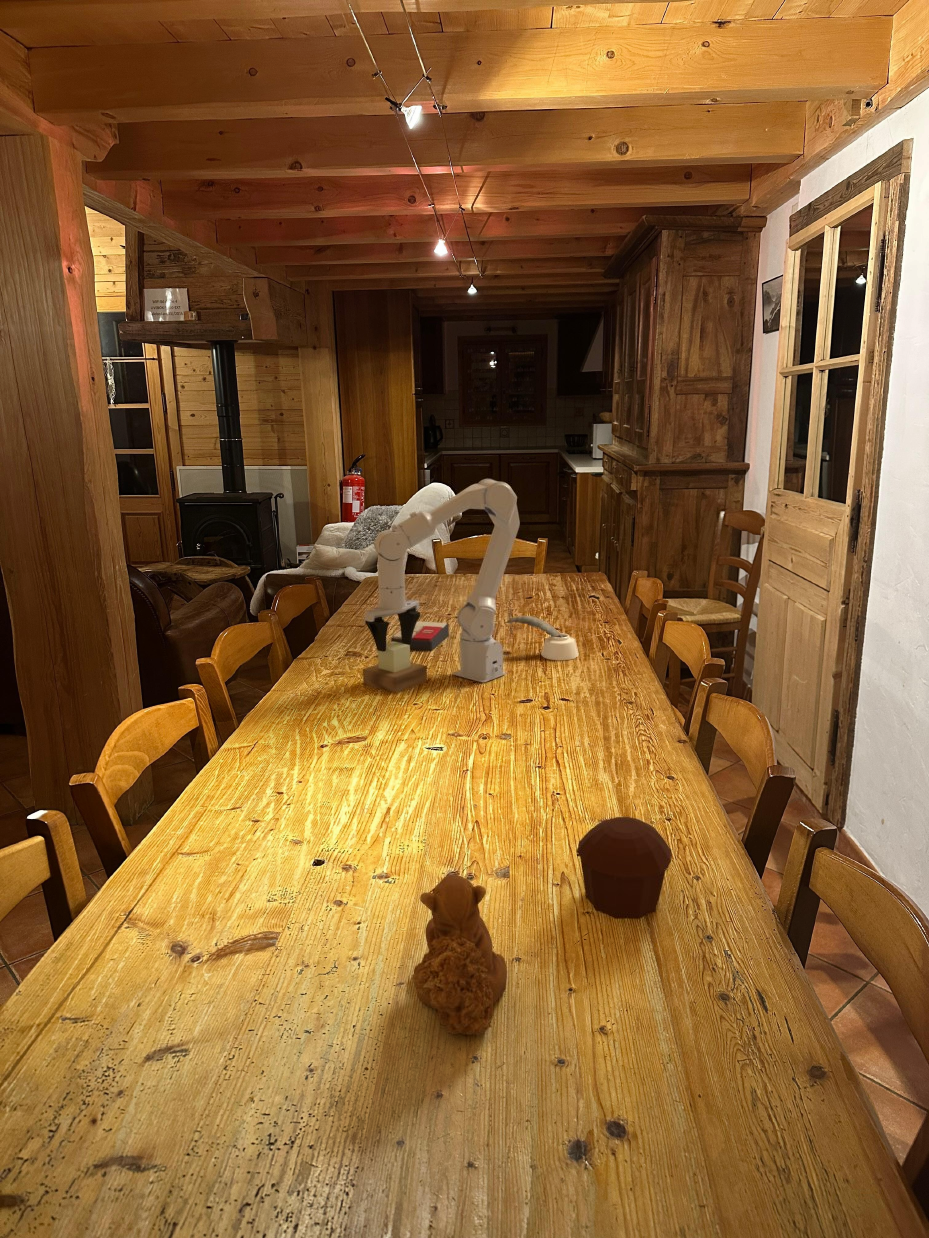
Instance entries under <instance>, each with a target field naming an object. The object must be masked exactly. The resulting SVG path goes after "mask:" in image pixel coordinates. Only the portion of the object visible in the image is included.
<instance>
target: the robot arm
mask: <svg viewBox="0 0 929 1238" xmlns="http://www.w3.org/2000/svg"><path fill="white" fill-rule="evenodd" d="M517 499H518V496H517V495H516V493H515V492H514V490H513V489H512V487H511V486H510V485H509V484H508V483H506V482H504V481H497V480H495V479H492V478H485V479H484V478H483V479H482V480H480V481H479V482H478V483H474V484H471V485H470V486H468V487H466V488H465V489H463V490H461V491H460V492H459V493H457V494H455V495H454V496H453V497H451V498H450V499H448V500H447V501H445V502H443V503H442V504H440V505H439V506H438V507H435V508H434V509H433V510H431V511H429V512H426V511H419V512H416V511H413V512H411V513H409V516H410V517H408V518H406V519H405V520H403V521H402V522H401V521H400V522H399V523H398V524H395V523H394V524H392V525H391V526H390V528H391V529H389V530H388V529H386V530H383V531H381V532H379V534H377V537H376V538H375V541H374V543H373V547H374V549H375V551H376V552H377V553H378V554H377V563H378V565H377V580H378V581H377V582H378V585H377V586H378V601H379V602H378V604H377V606H375V607H374V608H371V609H370V610H366V611H364V623H365V625H366V626H367V629H369V631H370V633H371V635H372V637H373V640H374V643H375V647H376V649H377V650H376V651H377V652H378V651H382V652H384V651H386V644H387V633H388V628H389V625H390V622H389V621H385V620H384V619H383V618H387V617H392V616H394V615H397V617H398V620H399V625H400V630H401V638H402V642H403V643H406V644H411V640H412V635H413V631H414V628H415V625H416V623H417V621H419V619H420V617H421V612H420V611H418V610H420V600H416V599H410V600H406V580H405V578H406V577H405V573H406V572H405V564H404V556H405V555H406V552H407V550H409V549H411V548H413V547H415V546H417V545H418V544H420V543H422V542H423V541H425V540H427V539H428V538H430V537H431V536H433V535H434V534H435V533H436V530H437V529H436V528H437V527H438V526H440V525H441V524H443V523H445V522H446V521H448V520H451V519H452V518H454V517H456V516H458V515H459V514H461V513H464V512H465V511H467V510H470V509H473V510H484V511H485V512H487V514H488V516H489V518H490V520H491V521H492V523H493V524H494V526H493V530H492V532H491V536H490V539H489V542H488V545H487V548H486V551H485V554H484V557H483V560H482V563H481V566H480V569H479V573H478V575H477V578H476V581H475V585H474V588H473V591H472V592H471V593H470V594H469V595H468V596H467V598H466V601H465V604H464V605H463V606H462V607H461V608H460V609H459V610H458V612H457V618H456V619H457V624H458V626H459V627H460V628H461V632H460V634H459V637H460V638H459V645H460V647H459V648H460V649H459V653H460V655H459V656H460V657H459V658H460V669H459V670H456V671H454V672H452V675H453V676H457V677H460V678H463V679H468V680H472V681H476V682H479V683H486V682H489V681H491V680H496V679H497V678H499V677H503V676H504V675H506V672H505V671H504V649H503V646H502V643H501V642H499V641H498V640H495V639H494V638H493V633H494V631H495V627H496V624H495V623H496V622H495V615H496V613H497V606H496V597H497V595H498V593H499V592H498V591H499V588H500V585H501V583H502V580H503V576H504V574H505V571H506V568H507V565H508V562H509V558H510V555H511V552H512V549H513V546H514V543H515V540H516V537H517V535H518V531H519V528H520V524H521V523H520V516H519V511H518V505H517Z"/></svg>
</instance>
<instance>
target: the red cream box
mask: <svg viewBox="0 0 929 1238" xmlns="http://www.w3.org/2000/svg"><path fill="white" fill-rule="evenodd" d="M449 629H450V628H449V623H447V622H446V623H445V622H432V621H419V620H418V621H417V623H416V625H415V628H414V631H413V635H412V640H411V644H407V645H410V651H412V650H413V651H423V652H424V651H426V652H432V651H434V650H435V649H436V648H438V647H439V646H440V644H442V642H443V641H445V640H446V639H448V637H450V631H449ZM390 641H391V642H398V643H402V644H406V643H403V642H402V638H401V629H400V630H398V632H396V633H395V634H394V635H393V636H392V638H391V639H390Z"/></svg>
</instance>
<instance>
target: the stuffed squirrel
mask: <svg viewBox="0 0 929 1238" xmlns="http://www.w3.org/2000/svg"><path fill="white" fill-rule="evenodd" d="M486 894H487V888H485V887H484V886H482V885H474V884H473V883H472V882H471V881H470V880H469V879H468V878H465V877H464V876H462V875H458V874H455V873H454V874H453V873H450V874H448V875H446V876H443V878H442V879H441V880H440V881H439V883H437V884H436V885H435V887H433V888H432V889H431V890H430V891H429V892H426V891H425V892H423V893H421V894H420V896H419V900H420V901H419V902H421V903H422V904H423V905H424V906H425V907H426V908H427V909H428V910H429V911H431V916H432V918H430V919H429V920H428V922H427V923H426V927H425V940H426V944H427V949H428V952H426V953H424V954H423V957H422V960H421V962H419V963H418V964H417V965H415V967H414V968H413V974H412V975H411V978H410V979H411V980H412V982H413V983H414V987H415V990H414V991H413V994H417V997H418V999H419V1001H420V1002H422V1003H423V1004H424V1005H426V1006H428V1007H429V1008H431V1009H433V1010H436V1011H437V1012H438V1016H439V1023H440V1025H441V1026H444V1027H445V1029H446V1032H448V1033H450V1034H453V1035H458V1034H461V1035H463V1036H465V1035H467V1036H472V1035H474V1036H475V1035H482V1034H483V1033H486V1032H487V1030H488V1029H489V1028H492V1020H493V1017H494V1004H495V1003H496V1002H497V1000H498V999H499V998H500V997H502V995H503V994H504V992H505V991H506V990H507V981H508V980H507V978H508V968H507V962H506V960H505V957H504V956H503V955H502V954H499V953H496V952H495V951H494V950H493V949H494V947H493V940H492V937H491V934H490V932H489V929H488V926H486V923H485V922H484V921H485V920H483V918H482V916H481V914H480V913H481V912H480V908H479V904H480V903H481V902H482V901H483V899H484V897H485V896H486Z"/></svg>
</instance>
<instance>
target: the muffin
mask: <svg viewBox="0 0 929 1238" xmlns="http://www.w3.org/2000/svg"><path fill="white" fill-rule="evenodd" d="M576 853H577V855H578V856H579V858H580V863H581V872H582V878H583V884H584V891H585V898H586V899H587V901H588V902H589V903H590V904H591V906H592V907H593V909H594V910H595V911H596V912H599V913H602V914H604V915H606V916H608V917H611V918H613V919H615V920H616V919H620V920H621V919H629V920H640V919H641V918H643V917H645V916H647V915H650V914H653V913H655V912H656V911H657V907H658V903H659V900H660V897H661V892H662V888H663V884H664V881H665V880H664V878H665V875H666V870H667V868H668V867H669V866H670V864H671V862H672V849H671V848H670V846H669V845H668V843H667V842H666V840H665V839H664V837H663V836H662V835H661V833H660V832H659V831H658V830H657V829H656V828H655V827H654V826H653V825H652V824H649V823H647V822H644V821H643V820H641V819H638V818H636V817H630V816H615V817H613V818H609V819H606V820H602V821H601V822H598V823H597V824H596V825H595V826H593V827H592V828H591V829H589V831H587V833H585V835H583V837H582V838H581V839H580V840H579V841H578V844H577V849H576Z"/></svg>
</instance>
